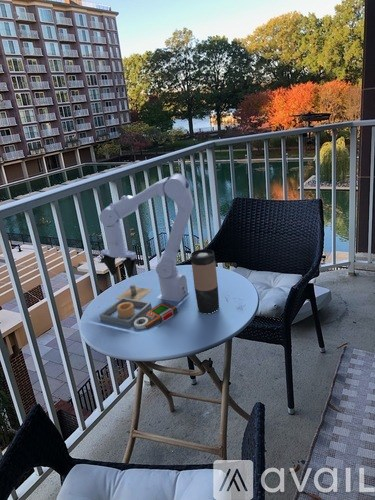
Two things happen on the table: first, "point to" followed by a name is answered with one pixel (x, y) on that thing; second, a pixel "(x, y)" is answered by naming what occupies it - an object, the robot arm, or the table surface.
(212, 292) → the travel mug
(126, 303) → the ring
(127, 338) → the table surface
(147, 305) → the tray
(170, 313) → the electronic device
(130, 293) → the tan square plate
